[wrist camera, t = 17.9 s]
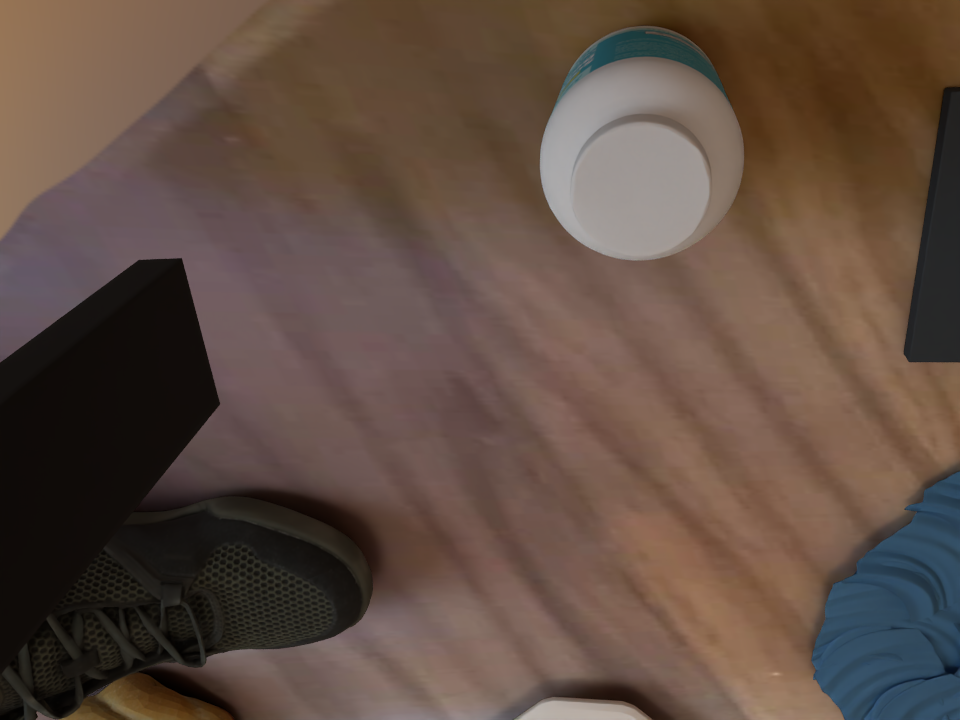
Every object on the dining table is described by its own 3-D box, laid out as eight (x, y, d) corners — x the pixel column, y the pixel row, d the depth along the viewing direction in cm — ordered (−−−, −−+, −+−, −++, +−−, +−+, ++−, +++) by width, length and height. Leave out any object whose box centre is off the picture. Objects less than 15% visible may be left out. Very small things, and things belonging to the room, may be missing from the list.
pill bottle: (566, 18, 40) (537, 65, 28) (734, 28, 39) (777, 81, 27) (553, 180, 44) (522, 284, 32) (707, 193, 43) (735, 305, 31)
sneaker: (400, 610, 59) (334, 850, 44) (3, 610, 64) (-174, 827, 49) (368, 456, 53) (281, 673, 39) (-64, 469, 58) (-288, 666, 43)
